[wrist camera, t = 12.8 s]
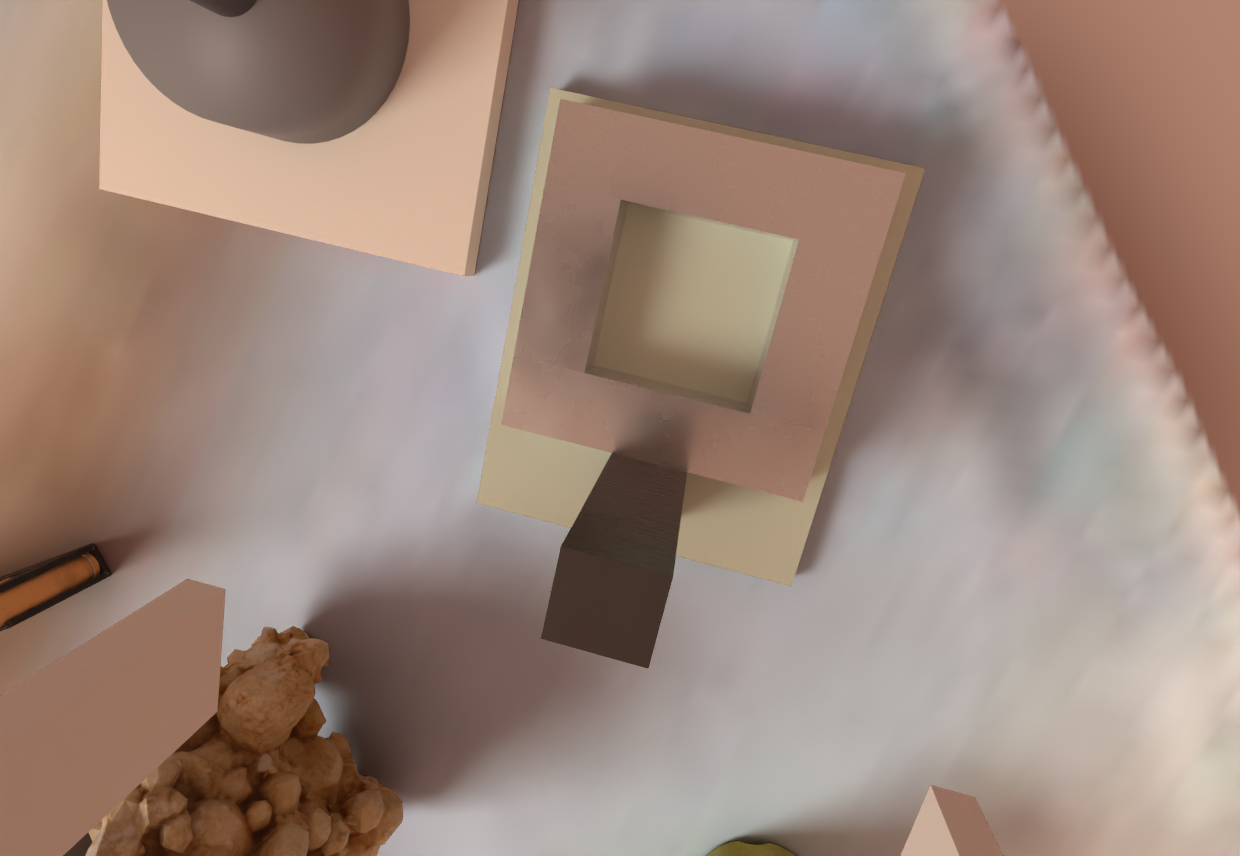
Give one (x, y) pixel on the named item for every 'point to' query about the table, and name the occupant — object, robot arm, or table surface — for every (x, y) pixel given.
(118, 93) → the stand
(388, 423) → the table surface
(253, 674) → the mineral formation
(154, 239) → the table surface
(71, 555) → the ammunition clip
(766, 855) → the plant pot
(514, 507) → the mat
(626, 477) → the pink square frame
